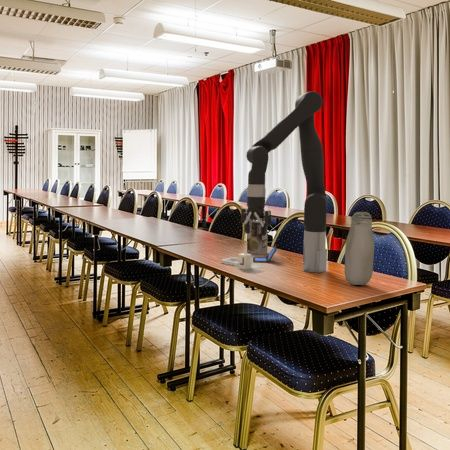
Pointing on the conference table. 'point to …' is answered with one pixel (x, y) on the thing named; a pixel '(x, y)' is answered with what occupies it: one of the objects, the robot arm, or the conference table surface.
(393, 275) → the conference table surface
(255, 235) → the coffee box
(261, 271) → the coaster grey
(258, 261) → the handheld game console
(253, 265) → the coaster sage
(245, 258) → the letter cube
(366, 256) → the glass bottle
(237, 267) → the coaster teal
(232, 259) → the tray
